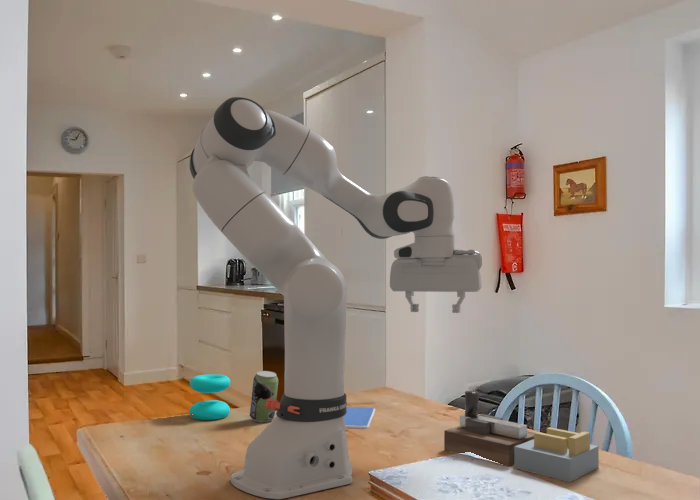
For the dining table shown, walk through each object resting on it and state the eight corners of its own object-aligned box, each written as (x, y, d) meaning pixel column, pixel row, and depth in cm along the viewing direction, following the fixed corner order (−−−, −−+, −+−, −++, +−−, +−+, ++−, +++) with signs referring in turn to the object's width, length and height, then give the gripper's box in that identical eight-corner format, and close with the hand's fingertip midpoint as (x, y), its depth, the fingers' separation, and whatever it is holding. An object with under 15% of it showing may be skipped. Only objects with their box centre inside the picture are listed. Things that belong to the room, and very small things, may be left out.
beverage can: (261, 416, 157) (262, 368, 158) (283, 420, 153) (284, 371, 153) (243, 421, 152) (244, 371, 153) (265, 425, 148) (266, 375, 148)
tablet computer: (368, 431, 146) (368, 425, 146) (315, 429, 148) (315, 423, 148) (375, 412, 165) (375, 407, 165) (328, 410, 167) (328, 405, 167)
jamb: (508, 466, 119) (508, 432, 119) (444, 449, 129) (444, 418, 130) (539, 453, 127) (539, 421, 128) (476, 439, 138) (476, 409, 138)
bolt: (519, 438, 122) (519, 402, 123) (459, 425, 132) (459, 391, 132) (526, 436, 125) (527, 399, 125) (467, 423, 134) (467, 389, 135)
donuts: (234, 378, 154) (192, 381, 151) (233, 419, 154) (192, 422, 150) (226, 372, 164) (187, 374, 160) (225, 410, 163) (186, 413, 160)
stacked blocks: (570, 482, 110) (570, 442, 110) (514, 467, 118) (514, 430, 118) (598, 467, 119) (598, 430, 119) (544, 454, 127) (544, 420, 127)
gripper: (483, 249, 138) (484, 312, 138) (395, 251, 146) (395, 310, 145) (479, 248, 132) (480, 314, 132) (387, 250, 140) (387, 312, 139)
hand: (435, 312), depth 139 cm, fingers open, 8 cm apart
